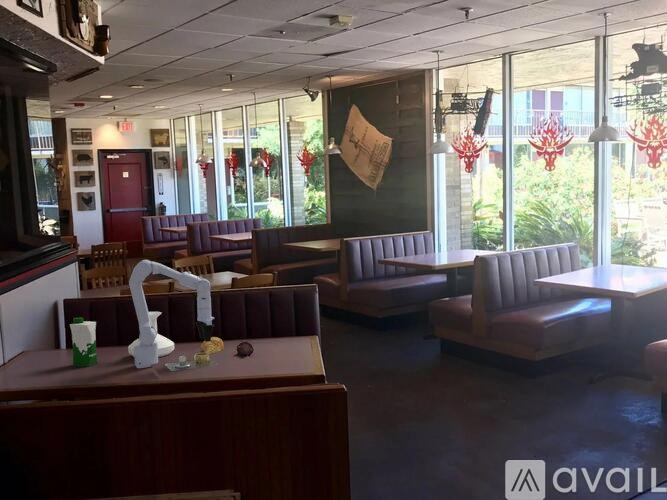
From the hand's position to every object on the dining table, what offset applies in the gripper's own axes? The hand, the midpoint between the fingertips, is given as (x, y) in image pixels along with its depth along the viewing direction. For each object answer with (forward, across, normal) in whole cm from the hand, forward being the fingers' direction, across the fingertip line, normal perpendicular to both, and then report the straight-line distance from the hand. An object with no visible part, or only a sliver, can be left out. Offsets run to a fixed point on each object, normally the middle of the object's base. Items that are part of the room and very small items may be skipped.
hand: (205, 339), depth 288 cm
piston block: (+10, -7, +8) cm, 14 cm away
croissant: (+10, +18, -8) cm, 22 cm away
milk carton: (+10, +23, +46) cm, 53 cm away
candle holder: (+10, +24, +18) cm, 31 cm away
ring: (+8, -3, +3) cm, 9 cm away
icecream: (+10, 0, -18) cm, 20 cm away
